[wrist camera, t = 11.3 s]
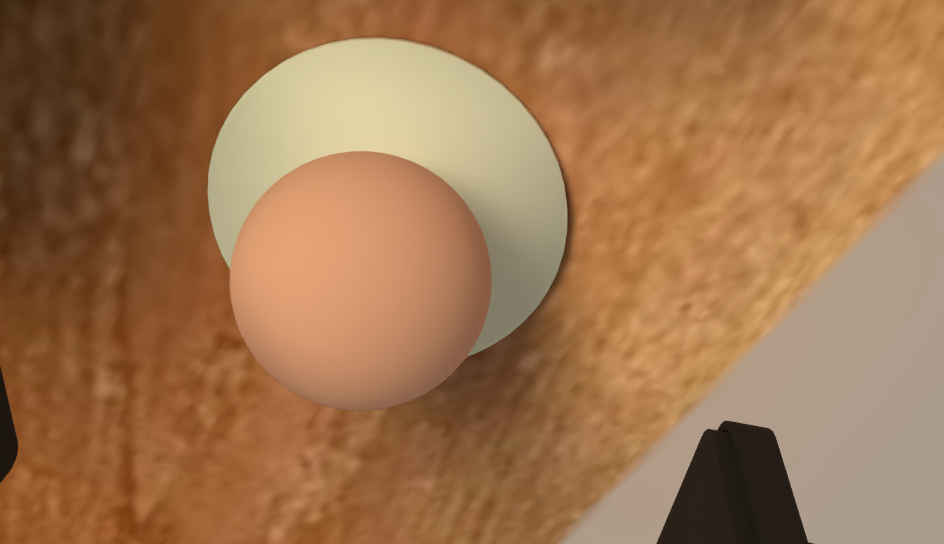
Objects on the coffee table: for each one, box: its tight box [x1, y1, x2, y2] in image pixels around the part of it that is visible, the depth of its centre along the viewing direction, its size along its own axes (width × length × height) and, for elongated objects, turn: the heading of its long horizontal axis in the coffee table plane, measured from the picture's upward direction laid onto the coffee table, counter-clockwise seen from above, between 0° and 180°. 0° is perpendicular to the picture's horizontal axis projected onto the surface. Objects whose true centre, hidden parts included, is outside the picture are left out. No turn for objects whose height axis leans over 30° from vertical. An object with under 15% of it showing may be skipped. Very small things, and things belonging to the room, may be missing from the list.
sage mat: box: [208, 37, 567, 356], centre depth 18 cm, size 8×8×1 cm
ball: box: [230, 151, 492, 411], centre depth 16 cm, size 5×5×5 cm
